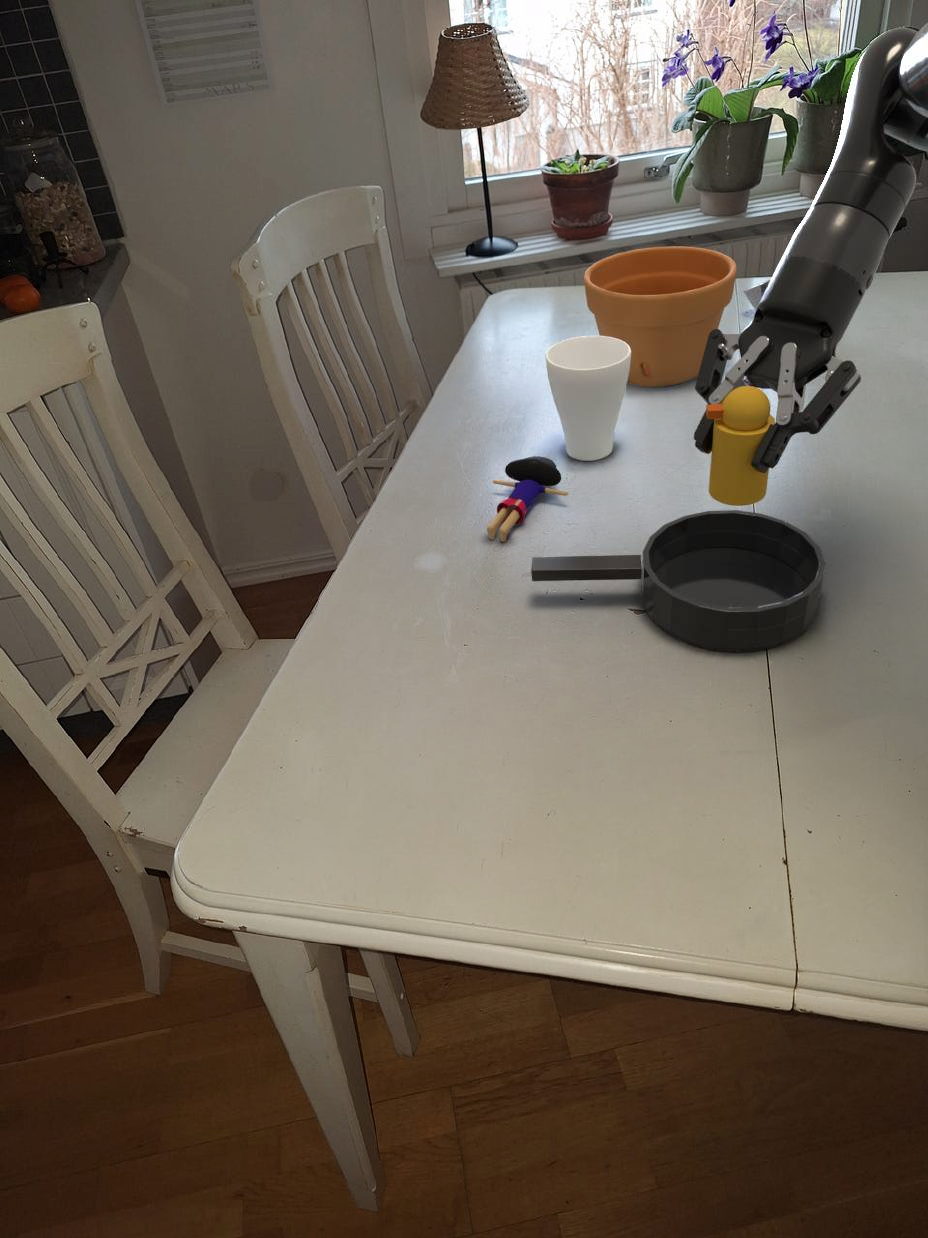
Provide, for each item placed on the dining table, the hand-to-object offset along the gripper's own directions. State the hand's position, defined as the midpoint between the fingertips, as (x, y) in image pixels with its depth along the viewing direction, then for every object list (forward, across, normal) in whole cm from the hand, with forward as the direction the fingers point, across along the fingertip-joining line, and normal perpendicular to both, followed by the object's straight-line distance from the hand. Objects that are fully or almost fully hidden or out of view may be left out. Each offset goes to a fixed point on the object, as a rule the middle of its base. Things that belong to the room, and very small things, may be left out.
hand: (729, 458), depth 77 cm
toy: (+10, -29, +16) cm, 35 cm away
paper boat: (-37, -37, +64) cm, 83 cm away
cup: (-1, -32, +27) cm, 42 cm away
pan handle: (+14, -12, +7) cm, 20 cm away
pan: (+10, -1, +16) cm, 19 cm away
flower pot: (-19, -41, +45) cm, 63 cm away
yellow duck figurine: (+2, 0, +4) cm, 4 cm away
